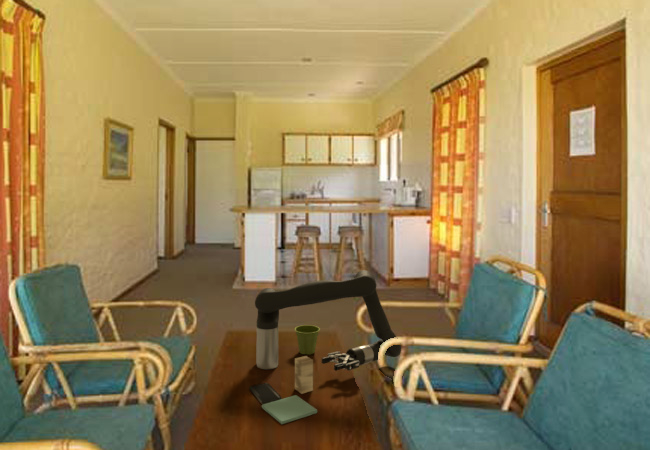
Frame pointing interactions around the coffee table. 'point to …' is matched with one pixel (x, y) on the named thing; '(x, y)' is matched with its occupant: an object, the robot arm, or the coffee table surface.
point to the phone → (264, 393)
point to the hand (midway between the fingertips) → (328, 364)
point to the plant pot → (307, 338)
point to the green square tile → (289, 409)
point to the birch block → (303, 374)
